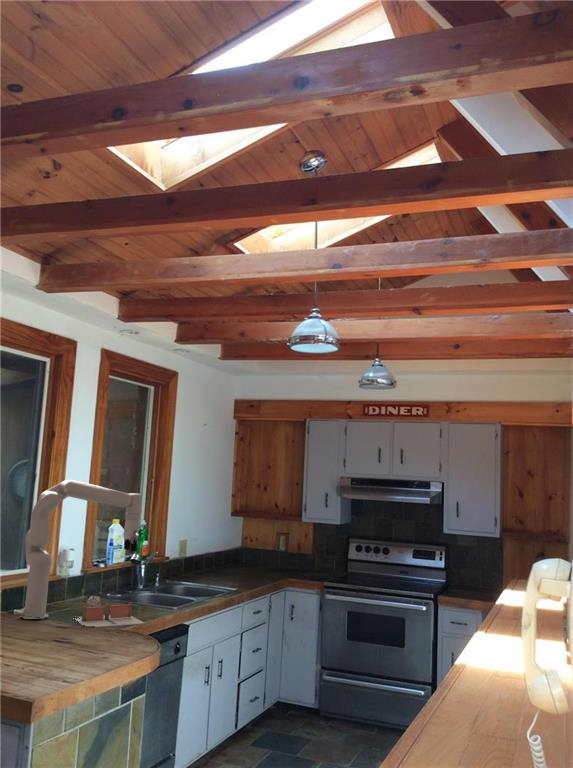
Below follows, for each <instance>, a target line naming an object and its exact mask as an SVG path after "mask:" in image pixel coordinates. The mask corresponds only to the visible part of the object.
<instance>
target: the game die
mask: <svg viewBox="0 0 573 768" xmlns="http://www.w3.org/2000/svg"><path fill="white" fill-rule="evenodd" d="M84 603H85V604H86V606H87V608H88V607H102V606H103V605H104V604H103V603H102V600H101V594H100V595H99V596H98V595H92V594H90V595H89V598H88V599H87V600H86V601H84Z"/></svg>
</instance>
